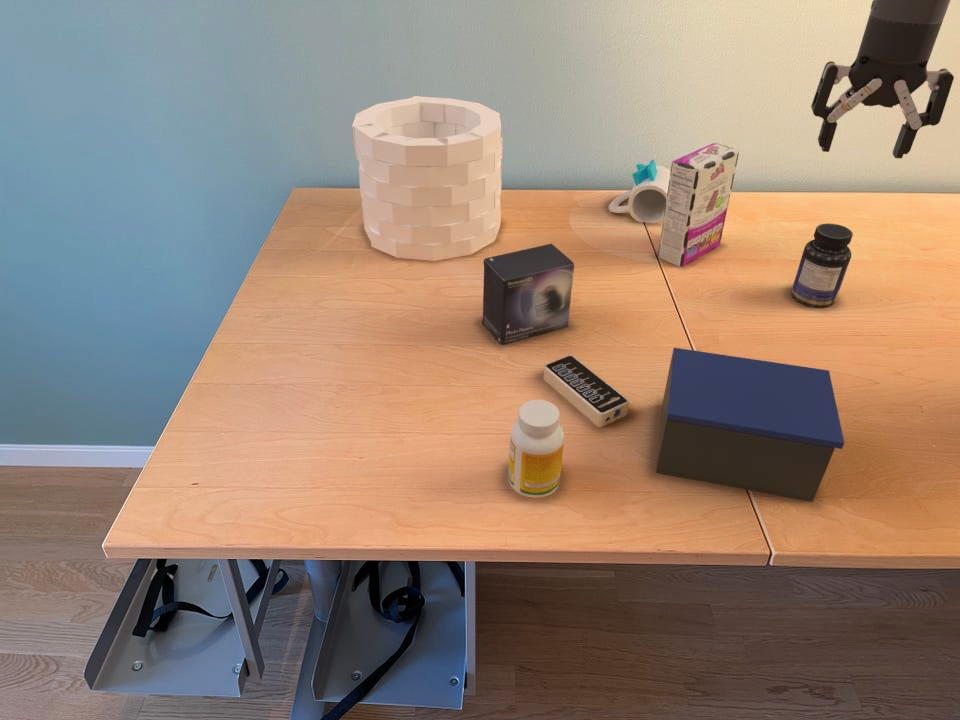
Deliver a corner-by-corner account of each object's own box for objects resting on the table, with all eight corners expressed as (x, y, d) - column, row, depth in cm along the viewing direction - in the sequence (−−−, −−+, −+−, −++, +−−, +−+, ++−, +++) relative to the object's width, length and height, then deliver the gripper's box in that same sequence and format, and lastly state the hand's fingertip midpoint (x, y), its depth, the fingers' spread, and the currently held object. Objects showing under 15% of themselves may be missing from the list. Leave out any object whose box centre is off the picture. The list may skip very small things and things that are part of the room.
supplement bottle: (498, 480, 73) (499, 411, 68) (533, 455, 76) (537, 387, 71) (535, 509, 70) (539, 439, 64) (570, 482, 73) (577, 413, 67)
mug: (668, 145, 125) (661, 169, 116) (681, 192, 129) (675, 219, 120) (606, 163, 130) (594, 188, 121) (620, 208, 134) (609, 235, 125)
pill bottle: (805, 284, 105) (827, 216, 99) (843, 301, 101) (868, 232, 95) (781, 297, 103) (801, 228, 96) (818, 315, 99) (842, 245, 92)
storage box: (801, 429, 80) (820, 375, 75) (811, 504, 71) (835, 448, 66) (661, 406, 83) (672, 353, 78) (655, 475, 74) (666, 420, 69)
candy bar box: (694, 237, 118) (713, 141, 108) (720, 247, 115) (742, 149, 105) (654, 258, 112) (670, 159, 102) (680, 270, 109) (700, 168, 99)
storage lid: (827, 376, 75) (829, 370, 74) (842, 449, 66) (844, 443, 65) (672, 353, 78) (673, 347, 78) (666, 419, 69) (668, 413, 69)
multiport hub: (569, 368, 89) (571, 353, 87) (628, 416, 81) (630, 401, 80) (541, 379, 87) (542, 365, 86) (599, 430, 80) (601, 415, 78)
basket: (488, 268, 110) (489, 150, 98) (343, 255, 113) (328, 140, 102) (511, 203, 129) (514, 98, 118) (387, 194, 133) (378, 91, 121)
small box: (501, 349, 92) (503, 280, 86) (480, 324, 97) (480, 257, 91) (570, 329, 96) (576, 262, 90) (546, 306, 101) (551, 241, 94)
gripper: (844, 16, 78) (804, 158, 88) (986, 23, 75) (928, 169, 85) (835, 4, 84) (798, 138, 93) (967, 10, 81) (915, 148, 90)
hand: (860, 153), depth 89 cm, fingers open, 8 cm apart
